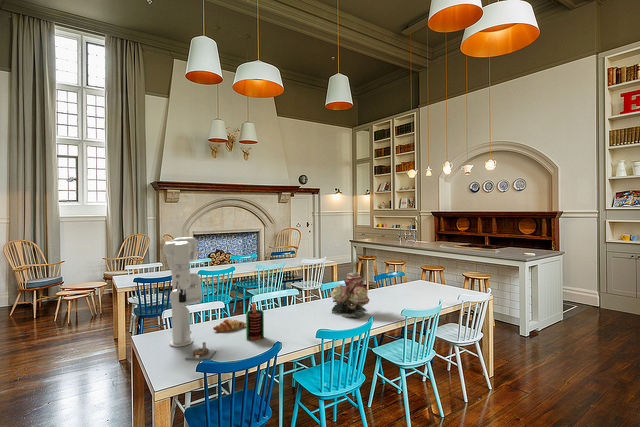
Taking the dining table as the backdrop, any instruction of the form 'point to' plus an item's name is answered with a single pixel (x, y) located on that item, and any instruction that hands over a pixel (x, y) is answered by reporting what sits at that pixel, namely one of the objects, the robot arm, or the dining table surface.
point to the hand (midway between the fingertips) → (182, 302)
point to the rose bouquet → (350, 297)
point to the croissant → (229, 325)
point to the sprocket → (201, 351)
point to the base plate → (208, 356)
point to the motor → (254, 324)
